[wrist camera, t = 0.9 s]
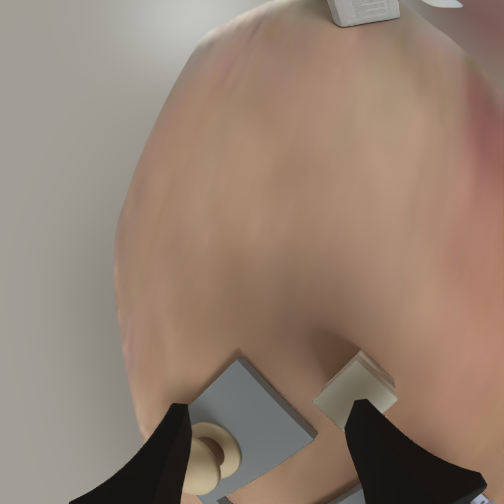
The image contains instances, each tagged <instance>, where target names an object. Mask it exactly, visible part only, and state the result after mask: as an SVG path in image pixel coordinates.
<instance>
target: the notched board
mask: <svg viewBox="0 0 504 504" xmlns="http://www.w3.org/2000/svg"><path fill="white" fill-rule="evenodd" d="M188 410H189V416H190V422H191V426H192V425H194V424H197V423H199V422H212V423H216V424H218V425H220V426H222V427H224V428H225V429H227V430H228V431H229V432H230V433H231V434H232V435H233V436H234V437H235V439H236V440H237V442H238V444H239V446H240V448H241V452H242V461H241V464H240V466H239V468H238V469H237V470H236V471H235V472H234V473H233V474H232V475H230V476H228V477H226V478H221V479H220V482H219V484H218V485H217V486H216V487H215V488H214V489H213V490H212V491H210V492H209V493H207V494H204V495H196V496H197V497H198V498H199V499H200V500H201V501H202V502H203V503H204V504H232V503H231V502H230V501H229V500H228V499H227V498H226V497H225V496H226V495H228V494H230V493H232V492H233V491H235V490H237V489H239V488H241V487H243V486H244V485H246V484H248V483H250V482H251V481H253V480H255V479H256V478H258V477H260V476H261V475H263V474H265V473H266V472H268V471H269V470H271V469H273V468H274V467H276V466H277V465H279V464H280V463H282V462H283V461H285V460H286V459H288V458H289V457H291V456H292V455H294V454H295V453H296V452H298V451H299V450H301V449H302V448H303V447H305V446H306V445H308V444H309V443H310V442H312V441H313V440H314V439H315V437H316V436H317V434H318V433H317V432H316V431H315V430H314V429H313V428H312V427H311V426H310V425H309V424H308V423H307V422H306V421H305V420H304V419H303V418H302V417H301V416H300V415H299V414H298V413H297V412H296V411H295V410H294V409H293V408H292V407H291V406H290V405H289V404H288V403H287V402H286V401H285V400H284V399H283V398H282V397H281V396H280V395H279V394H278V393H277V392H276V391H275V390H274V389H273V388H272V387H271V386H270V385H269V383H268V382H267V381H266V380H265V379H264V378H263V377H262V376H261V375H260V374H259V373H258V372H257V371H256V370H255V368H254V367H253V366H252V365H251V364H250V363H249V362H248V361H247V360H246V359H245V357H242V358H238V359H236V360H235V361H234V362H233V363H232V364H231V365H230V366H229V367H228V368H227V369H226V370H225V371H224V372H223V373H222V374H221V375H220V376H219V377H218V378H217V379H216V380H215V381H214V382H213V383H212V384H211V385H210V386H209V387H208V388H207V389H206V390H205V391H204V392H203V393H202V394H201V395H200V396H199V397H198V398H197V399H196V400H195V401H194V402H193V403H191V404H190V405H189V406H188ZM326 504H366V503H365V498H364V493H363V489H362V485H361V483H359V484H358V485H356V486H355V487H353V488H352V489H350V490H348V491H347V492H345V493H343V494H342V495H340V496H338V497H337V498H335V499H333V500H332V501H330V502H328V503H326Z"/></svg>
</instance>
